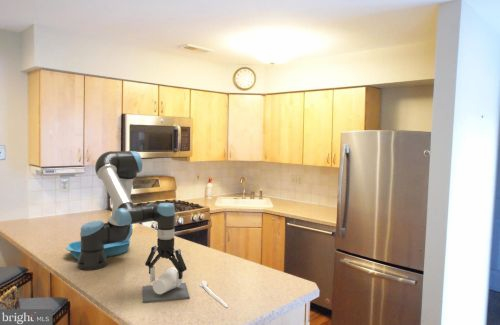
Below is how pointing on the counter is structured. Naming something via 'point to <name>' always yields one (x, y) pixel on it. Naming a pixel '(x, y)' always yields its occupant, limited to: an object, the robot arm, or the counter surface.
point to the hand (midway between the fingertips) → (165, 283)
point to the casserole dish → (108, 248)
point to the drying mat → (165, 294)
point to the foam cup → (166, 281)
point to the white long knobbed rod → (204, 285)
